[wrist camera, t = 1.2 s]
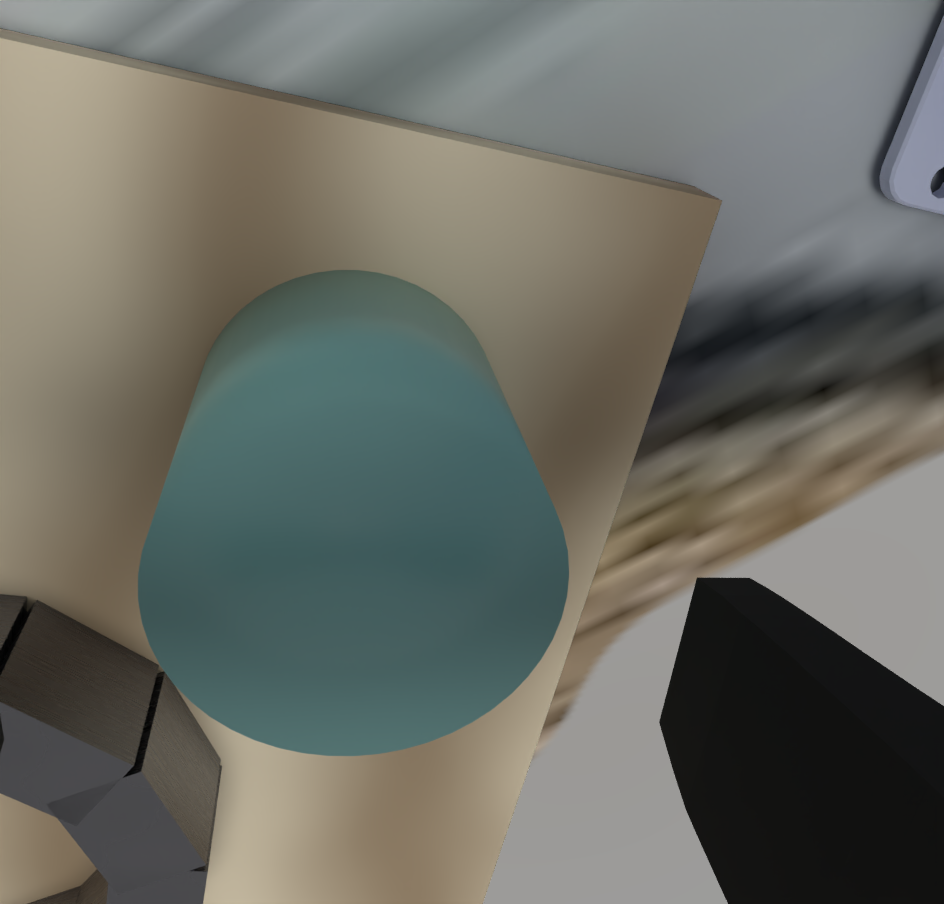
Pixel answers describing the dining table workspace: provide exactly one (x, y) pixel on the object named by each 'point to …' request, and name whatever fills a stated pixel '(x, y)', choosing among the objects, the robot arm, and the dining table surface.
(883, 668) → the robot arm
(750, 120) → the dining table surface
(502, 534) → the cap
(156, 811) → the grey faceted ring
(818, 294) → the dining table surface
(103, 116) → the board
